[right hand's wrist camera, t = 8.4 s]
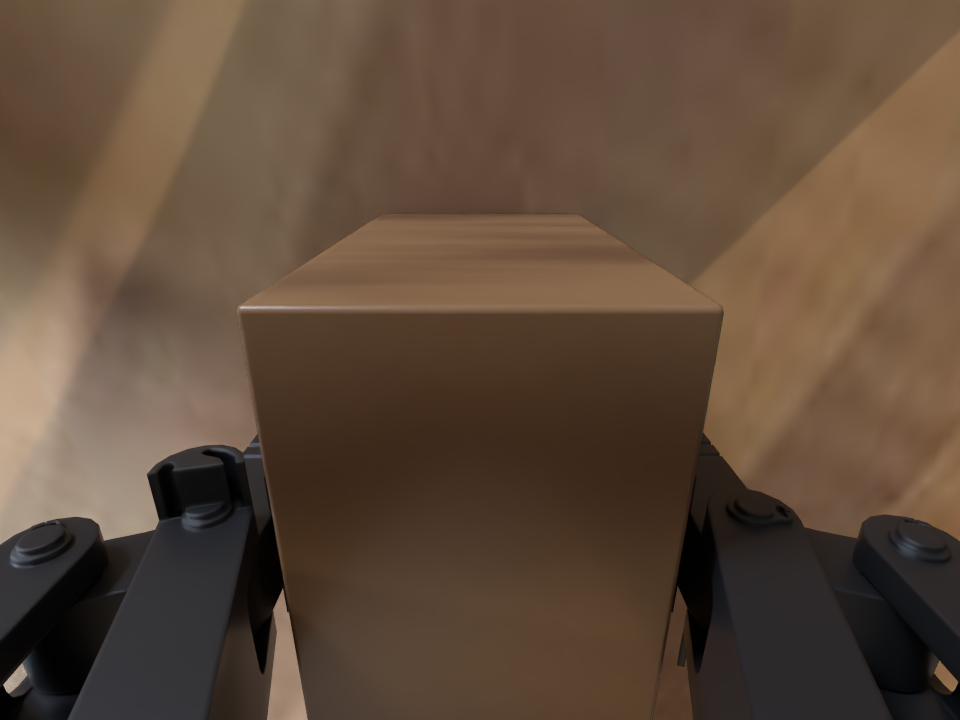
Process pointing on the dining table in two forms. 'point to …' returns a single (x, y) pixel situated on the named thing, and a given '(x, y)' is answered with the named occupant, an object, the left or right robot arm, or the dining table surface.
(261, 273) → the dining table surface
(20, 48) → the dining table surface
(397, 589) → the post
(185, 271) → the dining table surface
